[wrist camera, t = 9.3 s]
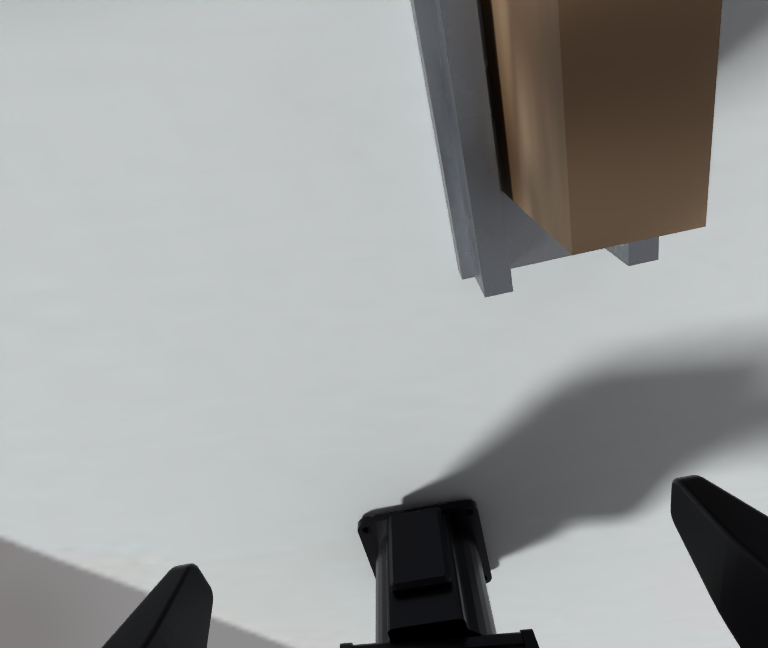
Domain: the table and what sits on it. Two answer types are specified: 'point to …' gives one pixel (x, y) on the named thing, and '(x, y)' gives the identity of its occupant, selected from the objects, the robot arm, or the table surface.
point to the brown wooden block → (604, 114)
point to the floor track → (480, 153)
